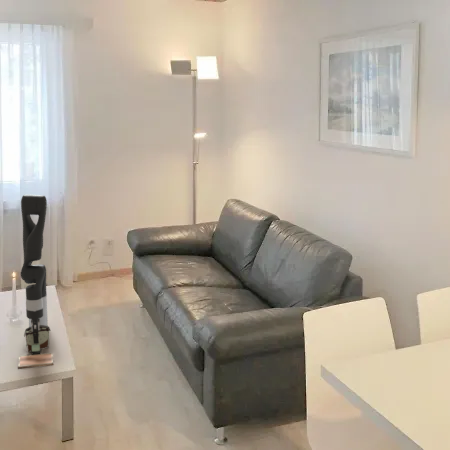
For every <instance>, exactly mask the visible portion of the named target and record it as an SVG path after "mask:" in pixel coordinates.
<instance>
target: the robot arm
mask: <svg viewBox="0 0 450 450" xmlns="http://www.w3.org/2000/svg"><path fill="white" fill-rule="evenodd" d="M20 200H21V201H20V209H21V218H22V250H23V264H22V267H21V270H20V278H21V279H22V281H24V283H26V284H29V285H27V286H26V288H25V311H26V312H25V313H26V318H27V319H28V327H31V326H32V331H33V340H34V344H37V343H39V339H38V336H39V334H38V331H39V325H45V326H48V324H49V322H48V321H49V320H48V298H47V297H48V296H47V268H46V266H45V264H33V262H37V261H40V260H41V259H42V257H43V255H42V253H43V252H42V249H43V247H44V232H45V231H44V229H45V225H46V224H45V222H46V216H47V208H48V207H47V205H48V204H47V203H48V202H47V198H46V195H44V194H43V195H42V194H24V195H22V196H21V199H20ZM32 216H38V218H37V223H35V222H34V220H33V219H32ZM48 327H49V326H48ZM34 332H37V334H34Z"/></svg>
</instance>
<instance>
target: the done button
mask: <svg viewBox="0 0 450 450" xmlns="http://www.w3.org/2000/svg"><path fill="white" fill-rule="evenodd" d="M32 351H40V344H39V345H32Z"/></svg>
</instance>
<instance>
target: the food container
mask: <svg viewBox="0 0 450 450" xmlns="http://www.w3.org/2000/svg"><path fill="white" fill-rule="evenodd" d="M50 332H51V328H50V326H45V325H39V331H38V334H39V336H38V339H39V343H37V344H34V340H33V331H32V326H31V327H29V326H28V327H27V328H26V329H24V332H23V333H24V334H23V337H24V338H25V341H26V347H27V353H30V352H31V350H32V345H39V344H40V349H41V350H44V349H46V348H47V347H48V348H49V344H50V343H49V341H50ZM34 334H37V332H34ZM43 348H44V349H43Z"/></svg>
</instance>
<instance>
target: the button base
mask: <svg viewBox="0 0 450 450" xmlns="http://www.w3.org/2000/svg"><path fill="white" fill-rule="evenodd" d="M41 351H42V349H40V351H32V350H31V354H30V355H36V354H42V352H41Z"/></svg>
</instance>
